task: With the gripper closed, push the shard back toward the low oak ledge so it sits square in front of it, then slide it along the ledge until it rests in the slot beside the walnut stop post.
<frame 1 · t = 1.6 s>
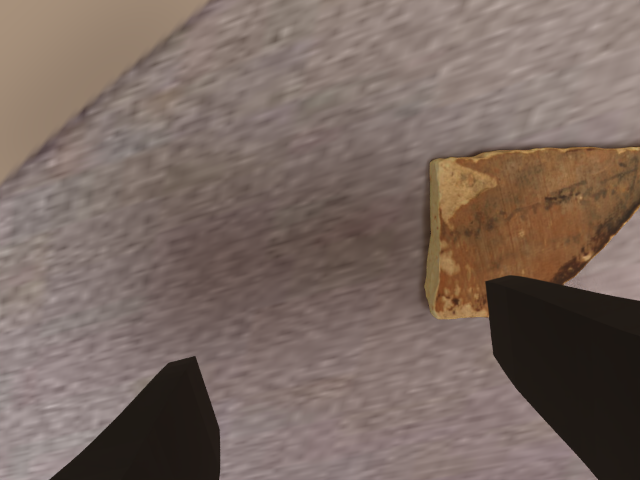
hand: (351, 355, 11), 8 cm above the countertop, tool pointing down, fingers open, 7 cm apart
shard: (512, 192, 21), on the countertop
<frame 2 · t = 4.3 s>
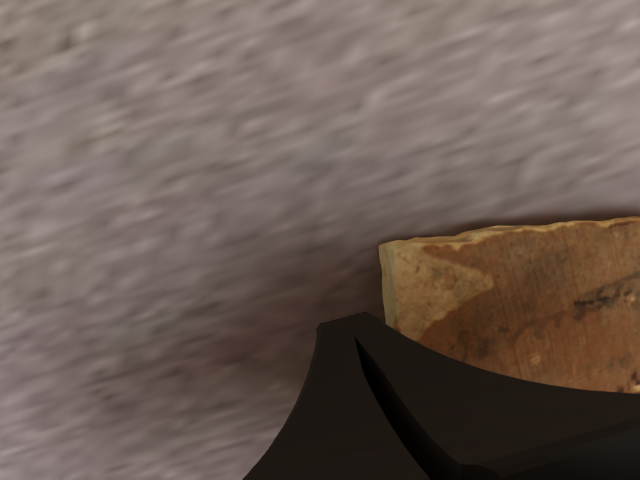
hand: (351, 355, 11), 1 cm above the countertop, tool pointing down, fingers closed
shard: (518, 279, 13), on the countertop
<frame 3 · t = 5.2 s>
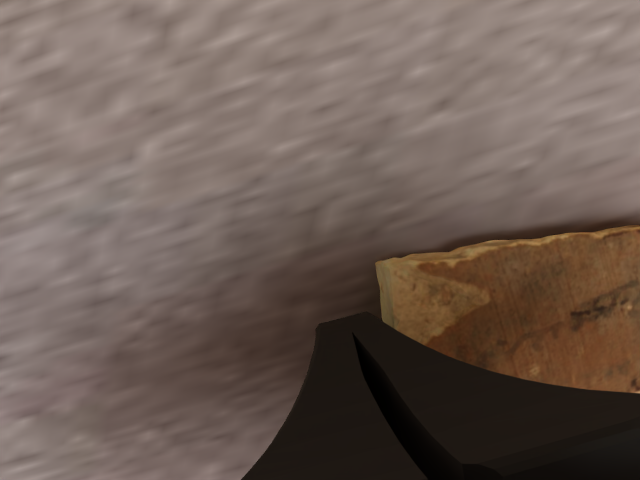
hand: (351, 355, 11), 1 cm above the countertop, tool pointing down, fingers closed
shard: (516, 289, 13), on the countertop, touching gripper
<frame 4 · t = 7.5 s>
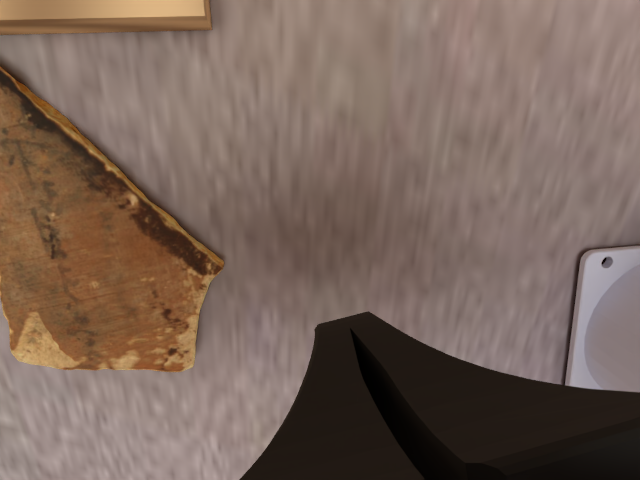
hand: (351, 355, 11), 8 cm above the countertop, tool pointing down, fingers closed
shard: (74, 251, 19), on the countertop
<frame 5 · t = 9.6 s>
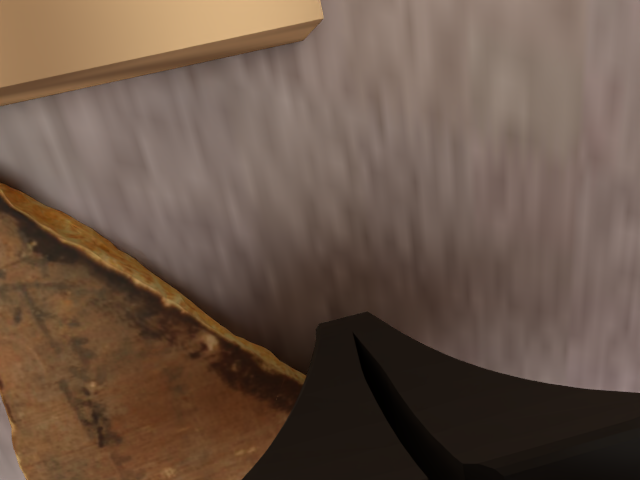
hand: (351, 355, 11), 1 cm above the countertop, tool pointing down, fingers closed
shard: (128, 408, 13), on the countertop, touching gripper
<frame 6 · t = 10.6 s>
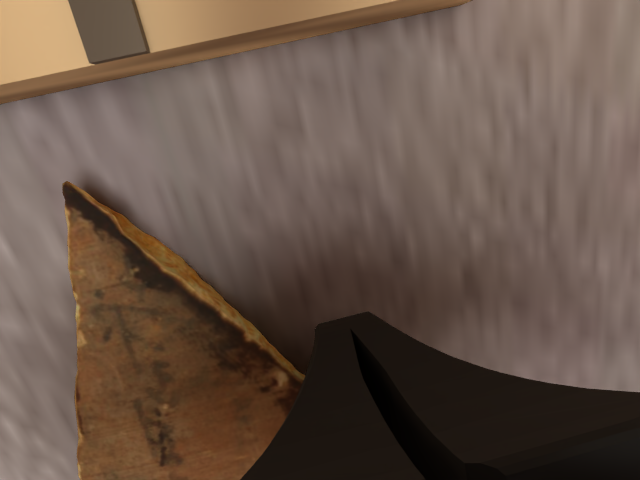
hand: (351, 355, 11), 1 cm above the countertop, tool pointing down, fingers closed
shard: (178, 425, 13), on the countertop
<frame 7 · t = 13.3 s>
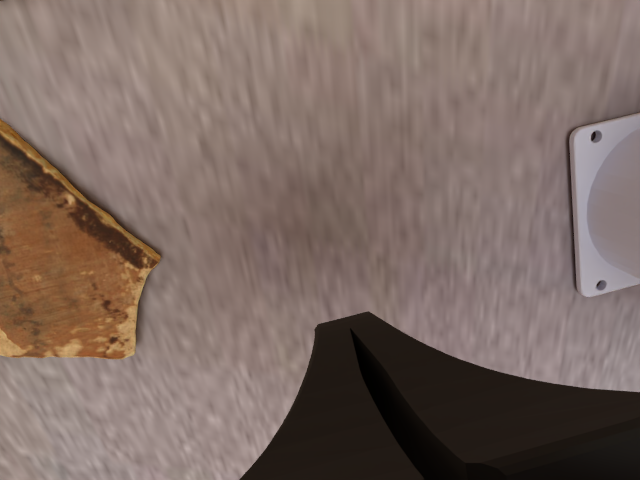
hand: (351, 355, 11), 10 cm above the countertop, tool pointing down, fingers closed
shard: (23, 248, 20), on the countertop
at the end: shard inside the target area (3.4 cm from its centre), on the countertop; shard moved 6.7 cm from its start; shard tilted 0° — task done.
